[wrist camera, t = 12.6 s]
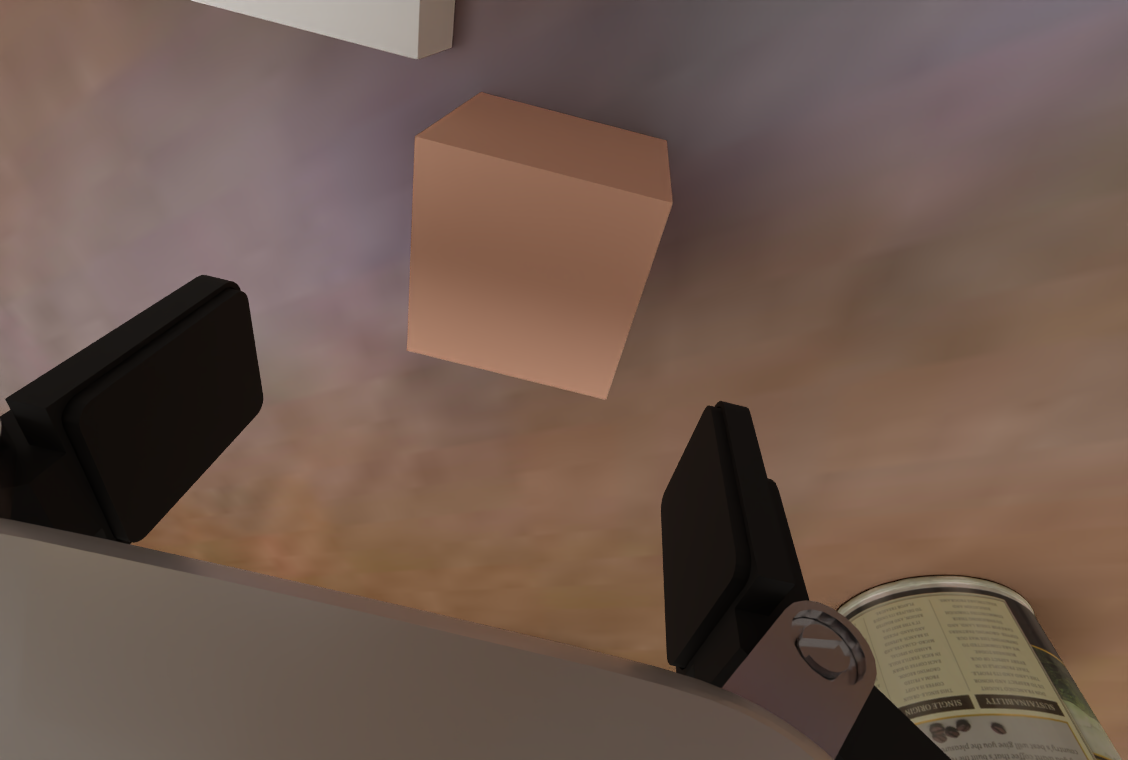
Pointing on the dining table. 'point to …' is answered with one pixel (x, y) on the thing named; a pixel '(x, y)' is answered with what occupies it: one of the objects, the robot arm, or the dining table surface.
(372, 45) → the grey base board
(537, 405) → the dining table surface
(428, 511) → the dining table surface
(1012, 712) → the coffee can
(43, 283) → the dining table surface
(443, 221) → the terracotta cube
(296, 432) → the dining table surface
